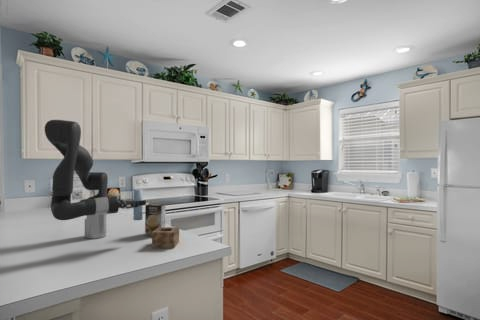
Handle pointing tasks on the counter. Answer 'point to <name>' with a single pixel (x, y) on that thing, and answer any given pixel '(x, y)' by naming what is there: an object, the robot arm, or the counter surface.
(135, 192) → the peg
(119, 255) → the counter surface
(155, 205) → the coffee box
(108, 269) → the counter surface
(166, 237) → the socket block
